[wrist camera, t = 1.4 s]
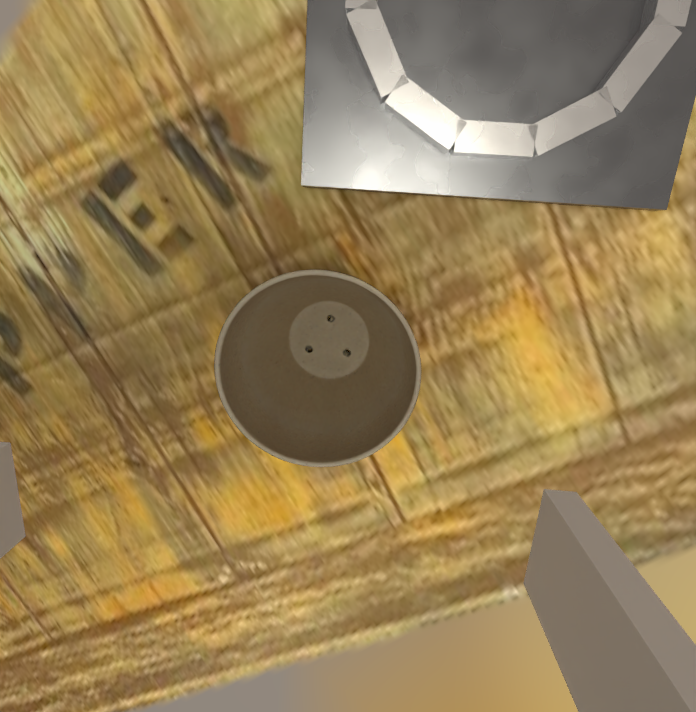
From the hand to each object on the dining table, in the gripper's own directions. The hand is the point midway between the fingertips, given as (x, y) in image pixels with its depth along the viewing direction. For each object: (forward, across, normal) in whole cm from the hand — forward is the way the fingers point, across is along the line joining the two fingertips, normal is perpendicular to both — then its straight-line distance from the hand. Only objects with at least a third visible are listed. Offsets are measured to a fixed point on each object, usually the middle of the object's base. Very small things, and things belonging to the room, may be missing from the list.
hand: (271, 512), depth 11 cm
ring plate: (+18, +8, +19) cm, 27 cm away
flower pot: (+18, 0, 0) cm, 18 cm away
